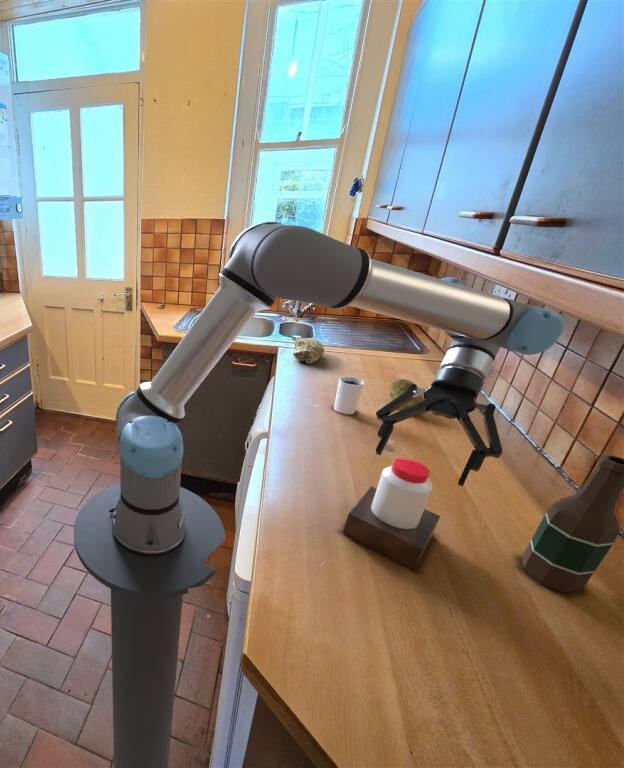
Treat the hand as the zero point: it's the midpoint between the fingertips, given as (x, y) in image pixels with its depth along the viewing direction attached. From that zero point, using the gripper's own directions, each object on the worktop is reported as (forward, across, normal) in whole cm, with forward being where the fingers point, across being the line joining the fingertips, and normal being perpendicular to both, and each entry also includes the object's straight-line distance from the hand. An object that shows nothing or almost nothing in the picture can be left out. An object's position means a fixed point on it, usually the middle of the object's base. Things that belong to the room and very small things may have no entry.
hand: (416, 467), depth 79 cm
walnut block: (+14, 0, -3) cm, 14 cm away
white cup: (-20, +26, -38) cm, 50 cm away
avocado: (-30, +14, -48) cm, 59 cm away
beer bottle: (+7, -22, -11) cm, 25 cm away
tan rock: (-47, +56, -65) cm, 97 cm away
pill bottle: (+10, 0, 0) cm, 11 cm away
